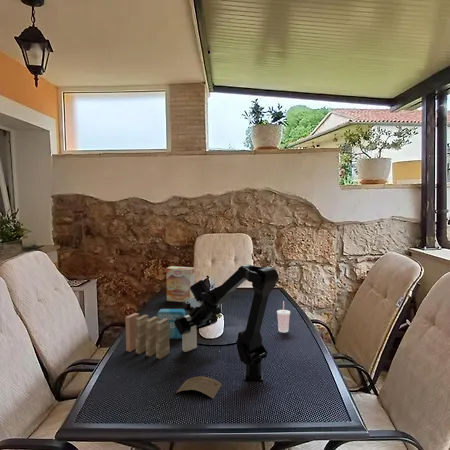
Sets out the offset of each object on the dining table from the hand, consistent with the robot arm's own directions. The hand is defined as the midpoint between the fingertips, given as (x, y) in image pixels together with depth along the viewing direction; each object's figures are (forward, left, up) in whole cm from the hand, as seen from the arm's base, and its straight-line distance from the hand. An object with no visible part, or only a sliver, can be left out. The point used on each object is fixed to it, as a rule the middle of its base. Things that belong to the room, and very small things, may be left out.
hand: (187, 331), depth 160 cm
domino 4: (-1, -1, -7) cm, 7 cm away
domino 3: (-7, +9, -7) cm, 13 cm away
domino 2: (-5, +13, -7) cm, 16 cm away
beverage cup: (+21, -41, -7) cm, 47 cm away
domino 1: (-3, +18, -7) cm, 19 cm away
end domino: (-1, +22, -7) cm, 23 cm away
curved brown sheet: (-33, -8, -8) cm, 35 cm away
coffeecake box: (+69, +14, -7) cm, 71 cm away
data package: (+12, +9, -7) cm, 17 cm away
